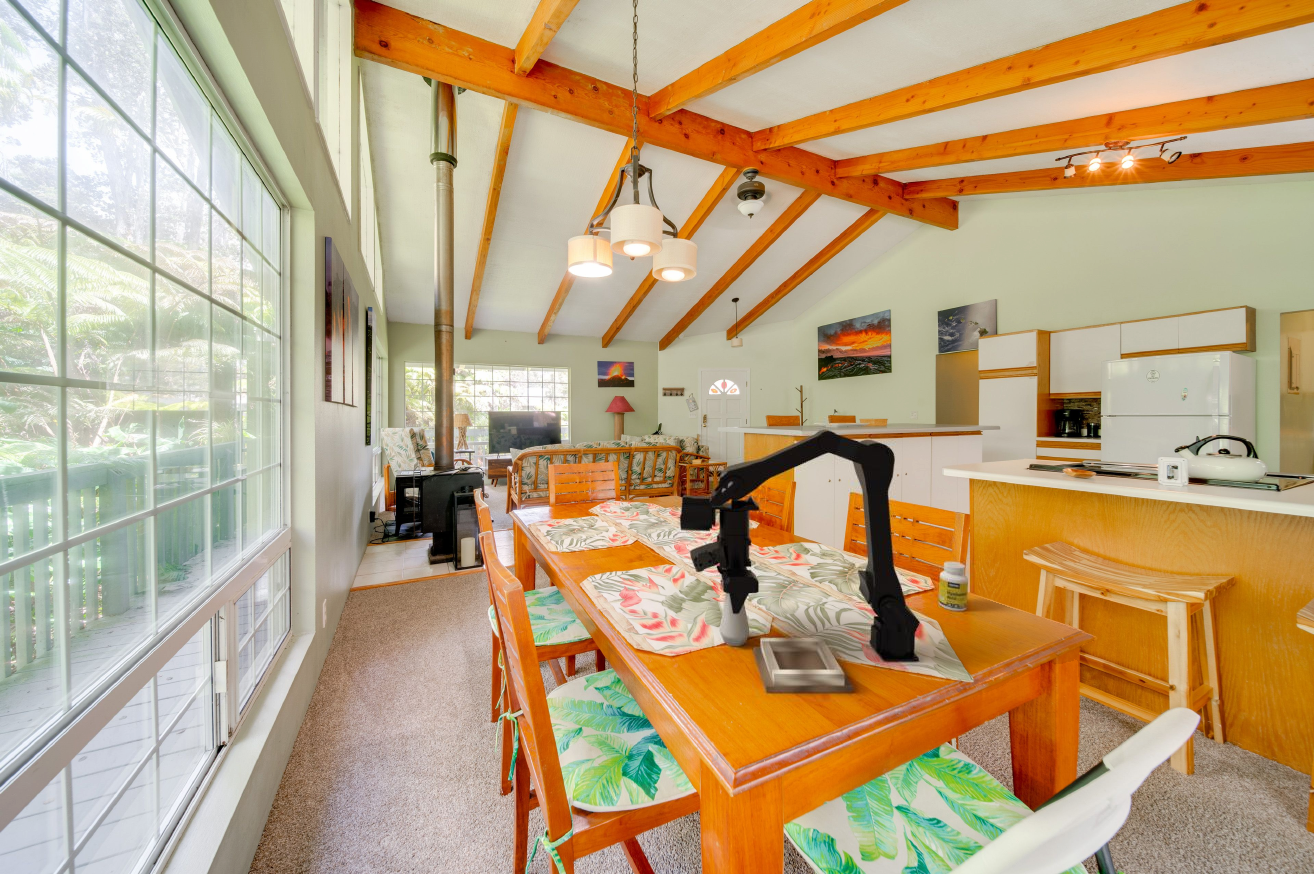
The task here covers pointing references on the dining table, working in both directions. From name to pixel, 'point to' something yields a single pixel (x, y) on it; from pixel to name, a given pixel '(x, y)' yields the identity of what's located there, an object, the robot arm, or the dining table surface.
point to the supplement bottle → (953, 587)
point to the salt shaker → (733, 625)
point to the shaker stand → (799, 666)
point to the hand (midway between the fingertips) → (734, 609)
